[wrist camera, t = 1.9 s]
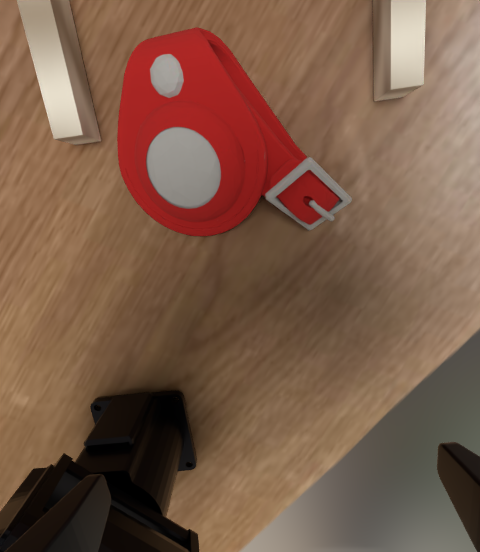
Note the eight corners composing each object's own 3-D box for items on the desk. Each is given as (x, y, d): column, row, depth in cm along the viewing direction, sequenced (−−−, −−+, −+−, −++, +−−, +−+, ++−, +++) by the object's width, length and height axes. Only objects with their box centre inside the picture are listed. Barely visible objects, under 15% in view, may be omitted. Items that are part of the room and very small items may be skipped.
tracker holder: (135, 254, 18) (60, 46, 13) (166, 226, 22) (117, 55, 17) (354, 244, 15) (363, -37, 10) (347, 213, 18) (352, -3, 14)
